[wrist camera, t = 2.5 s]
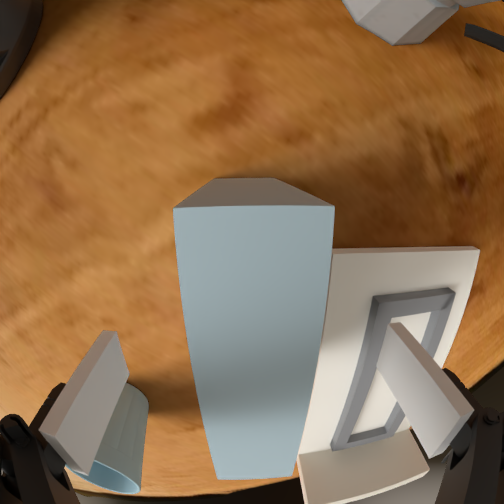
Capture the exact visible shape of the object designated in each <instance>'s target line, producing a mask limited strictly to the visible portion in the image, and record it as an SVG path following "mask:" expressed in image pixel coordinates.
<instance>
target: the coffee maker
mask: <svg viewBox="0 0 504 504" xmlns="http://www.w3.org/2000/svg"><path fill="white" fill-rule="evenodd" d="M494 1H500V0H342V2H343V3H344V5H345V6H346V8H347V10H348V11H349V13H350V14H351V16H352V18H353V19H354V21H355V23H356V24H358V25H359V26H361V27H363V28H365V29H366V30H368V31H370V32H372V33H373V34H375V35H377V36H378V37H380V38H381V39H383V40H385V41H386V42H388V43H389V44H391V45H392V46H393V45H406V44H420V43H421V42H423V41H424V40H425V39H426V38H427V37H428V36H429V35H430V34H431V33H433V32H434V31H435V30H436V29H437V28H438V27H439V26H441V25H442V24H443V23H444V22H445V21H446V20H447V19H449V18H450V17H451V16H452V15H453V14H454V13H455V12H457V11H458V9H459V5H461V6H463V7H464V8H466V7H470V6H474V5H479V4H483V3H488V2H494ZM502 1H503V2H504V0H502ZM464 36H466V37H469V38H471V39H474V40H477V41H479V42H482V43H484V44H487V45H489V46H491V47H494V48H496V49H498V50H500V51H502V52H504V36H502V35H499V34H497V33H494V32H492V31H489V30H487V29H484V28H481V27H479V26H476V25H473V24H466V27H465V33H464Z"/></svg>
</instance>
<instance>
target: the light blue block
mask: <svg viewBox="0 0 504 504" xmlns="http://www.w3.org/2000/svg"><path fill="white" fill-rule="evenodd" d="M334 213H335V206H334V205H332V204H330V203H328V202H325V201H323V200H321V199H319V198H317V197H315V196H313V195H311V194H309V193H307V192H304V191H302V190H300V189H298V188H296V187H294V186H291V185H289V184H287V183H285V182H282V181H280V180H278V179H276V178H220V179H213V180H211V181H210V182H208V183H207V184H205V185H204V186H203V187H201V188H200V189H198V190H197V191H196V192H194V193H193V194H191V195H190V196H189V197H187V198H186V199H185V200H183V201H182V202H180V203H179V204H178V205H176V206H175V207H174V208H173V216H174V230H175V242H176V254H177V264H178V273H179V282H180V291H181V299H182V307H183V314H184V321H185V328H186V335H187V341H188V347H189V353H190V359H191V365H192V370H193V376H194V381H195V386H196V391H197V396H198V401H199V406H200V411H201V415H202V420H203V424H204V428H205V433H206V437H207V441H208V445H209V449H210V453H211V457H212V461H213V464H214V468H215V472H216V475H217V479H223V480H240V479H264V478H277V477H288V476H292V473H293V470H294V466H295V462H296V459H297V455H298V451H299V447H300V443H301V439H302V435H303V431H304V427H305V422H306V418H307V413H308V409H309V404H310V399H311V394H312V389H313V384H314V379H315V373H316V368H317V362H318V356H319V350H320V344H321V338H322V331H323V324H324V317H325V309H326V302H327V293H328V285H329V275H330V265H331V254H332V243H333V229H334Z"/></svg>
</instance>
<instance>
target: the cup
mask: <svg viewBox="0 0 504 504" xmlns="http://www.w3.org/2000/svg"><path fill="white" fill-rule="evenodd" d="M148 410H149V403H148V400H147V398H146V397H145V395H144V394H143V393H142V392H141V391H140V390H138V389H137V388H135V387H134V386H132V385H130V384H128V383H125V386H124V388H123V390H122V392H121V395H120V397H119V399H118V402H117V404H116V406H115V409H114V411H113V413H112V416H111V418H110V421H109V423H108V425H107V428H106V430H105V433H104V435H103V438H102V441H101V443H100V446H99V448H98V451H97V453H96V456H95V459H94V461H93V464H92V467H91V470H90V472H89V475H88V476H87V475H84V474H81V473H79V472H76V471H73V470H72V469H71V468H70V467H69V466H68V465H67V464H66V465H65V466H66V467H67V468H68V469H69V470H71V471H72V472H73V473H75V474H76V475H78V476H79V477H81V478H83V479H84V480H86V481H88V482H90V483H92V484H94V485H97V486H99V487H102V488H104V489H107V490H110V491H114V492H118V493H124V494H136V493H138V492H140V490H141V476H142V463H143V452H144V443H145V434H146V426H147V418H148Z"/></svg>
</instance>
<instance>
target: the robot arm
mask: <svg viewBox="0 0 504 504" xmlns="http://www.w3.org/2000/svg"><path fill="white" fill-rule="evenodd" d="M42 11H43V3H42V0H0V98H1V96H2V95H3V94H4V92H5V91H6V89H7V88H8V86H9V85H10V83H11V82H12V80H13V79H14V77H15V75H16V74H17V72H18V70H19V69H20V67H21V65H22V63H23V61H24V60H25V58H26V56H27V54H28V52H29V50H30V47H31V45H32V43H33V41H34V38H35V36H36V33H37V31H38V28H39V25H40V21H41V17H42ZM376 367H377V368H378V370H379V371H380V373H381V375H382V376H383V378H384V380H385V381H386V383H387V385H388V386H389V388H390V390H391V391H392V393H393V395H394V396H395V398H396V400H397V402H398V403H399V405H400V407H401V408H402V410H403V412H404V414H405V415H406V417H407V419H408V421H409V422H410V424H411V426H412V428H413V430H414V431H415V433H416V435H417V437H418V438H419V440H420V442H421V444H422V446H423V448H424V449H425V451H426V453H427V455H428V457H429V458H432V457H434V456H436V455H438V454H440V453H442V452H444V450H445V449H446V448H447V447H448V446H449V444H450V445H451V447H452V449H451V451H450V452H449V453H448V454H447V455H446V456H445V458H444V459H443V460H442V462H441V463H444V462H445V461H446V460H447V459H448V461H447V463H446V464H447V465H446V469H445V473H444V476H443V480H442V483H441V486H440V490H439V493H438V496H437V499H436V502H435V504H504V412H502V413H499V412H498V411H497V410H495V409H493V408H484V409H483V408H482V406H481V405H480V404H479V403H478V401H477V400H476V399H475V398H474V396H473V395H472V394H471V393H470V391H469V390H468V389H467V388H465V385H464V384H463V383H462V382H460V379H459V378H458V377H457V376H456V375H455V374H454V373H453V372H451V371H450V370H448V369H447V368H444V369H441V368H440V366H439V365H438V364H437V363H436V362H435V361H434V359H433V358H432V357H431V356H430V355H429V354H428V352H427V351H426V350H425V349H424V348H423V347H422V345H421V344H420V343H419V342H418V341H417V340H416V339H415V338H414V336H413V335H412V334H411V333H410V332H409V331H408V330H407V329H406V328H405V326H404V325H403V324H402V323H401V322H396V323H389V324H388V326H387V330H386V334H385V337H384V341H383V345H382V348H381V352H380V355H379V358H378V362H377V365H376ZM128 377H129V371H128V368H127V365H126V362H125V359H124V356H123V352H122V349H121V346H120V342H119V339H118V335H117V332H116V331H106V330H103V331H102V333H101V334H100V335H99V337H98V338H97V340H96V341H95V342H94V344H93V345H92V347H91V348H90V349H89V351H88V352H87V354H86V355H85V357H84V358H83V360H82V361H81V363H80V364H79V366H78V367H77V369H76V370H75V372H74V373H73V375H72V376H71V378H70V379H69V381H68V382H67V384H65V383H60V384H59V385H57V386H56V387H55V388H53V389H52V391H51V392H50V394H49V395H48V398H47V399H46V400H45V402H44V403H43V405H42V406H41V408H40V409H39V411H38V413H37V414H36V416H35V418H34V419H33V421H32V422H31V424H30V426H29V427H28V425H27V424H26V423H25V421H24V420H23V419H22V418H21V417H20V416H19V415H16V414H9V415H7V416H5V417H4V418H2V419H1V421H0V433H1V434H0V504H80V502H79V500H78V498H77V496H76V494H75V491H74V489H73V487H72V484H71V482H70V479H69V477H68V474H67V472H66V471H65V469H64V467H65V465H66V464H67V465H68V466H69V467H70V468H71V469H72V470H73V471H76V472H79V473H81V474H84V475H87V476H88V475H89V472H90V470H91V467H92V464H93V461H94V459H95V456H96V453H97V451H98V448H99V446H100V443H101V441H102V438H103V435H104V433H105V430H106V428H107V425H108V423H109V421H110V418H111V416H112V413H113V411H114V409H115V406H116V404H117V402H118V399H119V397H120V395H121V392H122V390H123V388H124V386H125V383H126V381H127V379H128ZM1 469H2V470H3V474H2V475H1Z"/></svg>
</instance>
